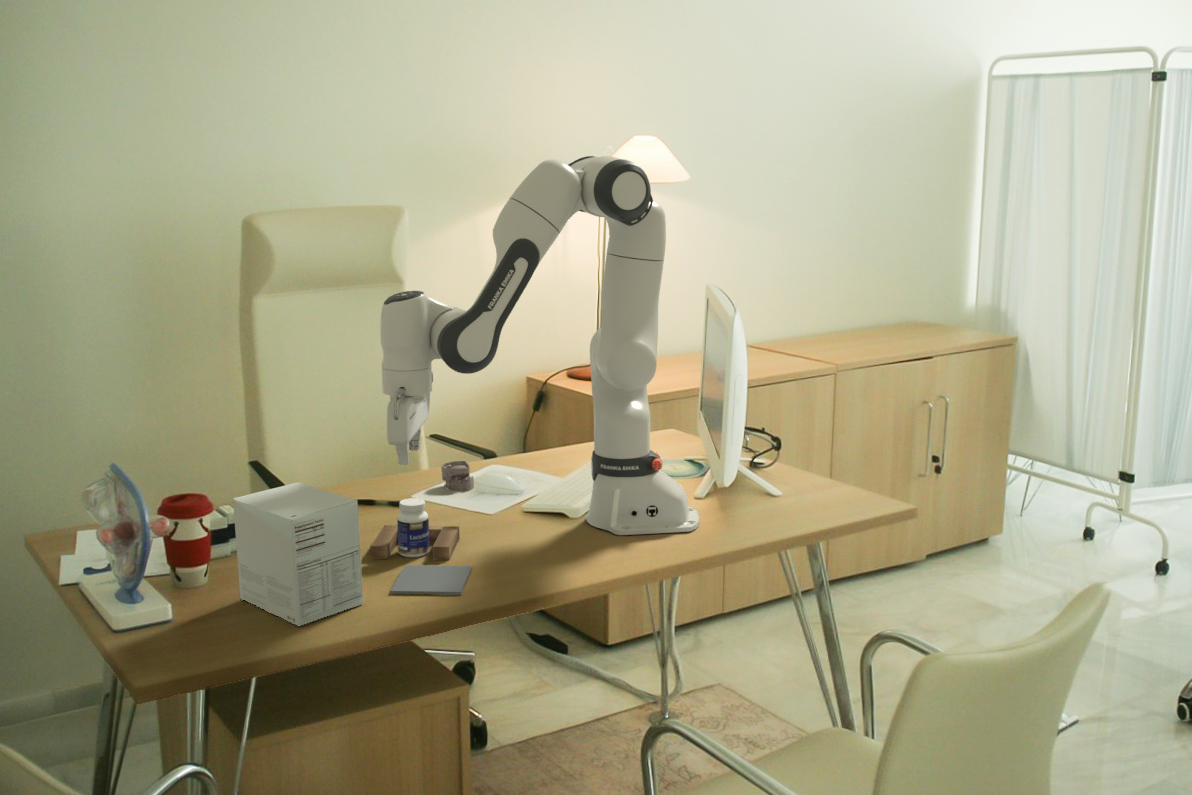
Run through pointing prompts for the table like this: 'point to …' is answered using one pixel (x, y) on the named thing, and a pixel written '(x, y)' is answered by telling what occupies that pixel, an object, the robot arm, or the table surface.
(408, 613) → the table surface
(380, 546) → the holder
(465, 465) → the dental mold
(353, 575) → the supplement box
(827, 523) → the table surface
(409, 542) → the pill bottle
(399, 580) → the mat
